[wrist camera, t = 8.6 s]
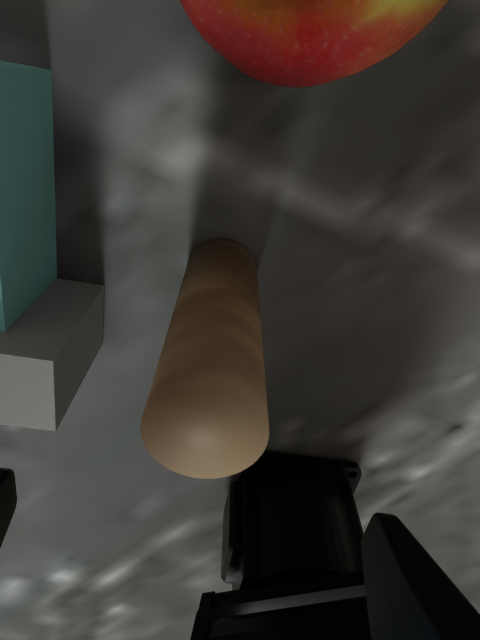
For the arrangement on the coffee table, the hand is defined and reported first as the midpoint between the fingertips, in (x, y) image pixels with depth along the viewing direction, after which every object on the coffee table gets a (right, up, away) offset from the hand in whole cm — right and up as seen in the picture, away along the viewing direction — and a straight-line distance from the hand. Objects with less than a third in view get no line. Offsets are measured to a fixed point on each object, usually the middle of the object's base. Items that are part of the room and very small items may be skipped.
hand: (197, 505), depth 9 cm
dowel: (0, +6, +11) cm, 12 cm away
